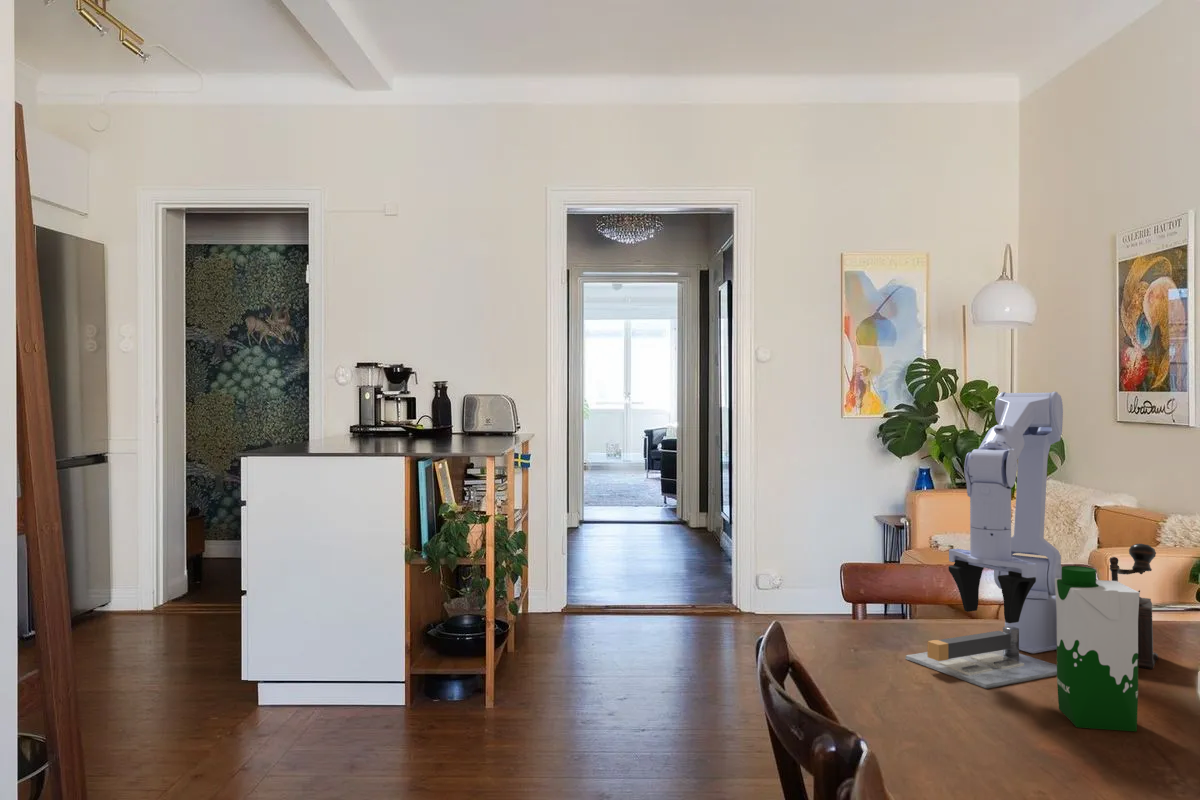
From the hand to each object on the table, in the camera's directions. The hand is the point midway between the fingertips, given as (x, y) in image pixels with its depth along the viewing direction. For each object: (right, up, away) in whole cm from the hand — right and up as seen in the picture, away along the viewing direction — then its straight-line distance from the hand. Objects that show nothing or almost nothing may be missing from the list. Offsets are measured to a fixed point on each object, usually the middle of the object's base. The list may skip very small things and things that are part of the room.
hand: (990, 616), depth 129 cm
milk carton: (+6, -10, -17) cm, 21 cm away
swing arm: (-1, -7, +6) cm, 9 cm away
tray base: (+2, -9, +6) cm, 11 cm away
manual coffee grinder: (+27, -10, +13) cm, 32 cm away
